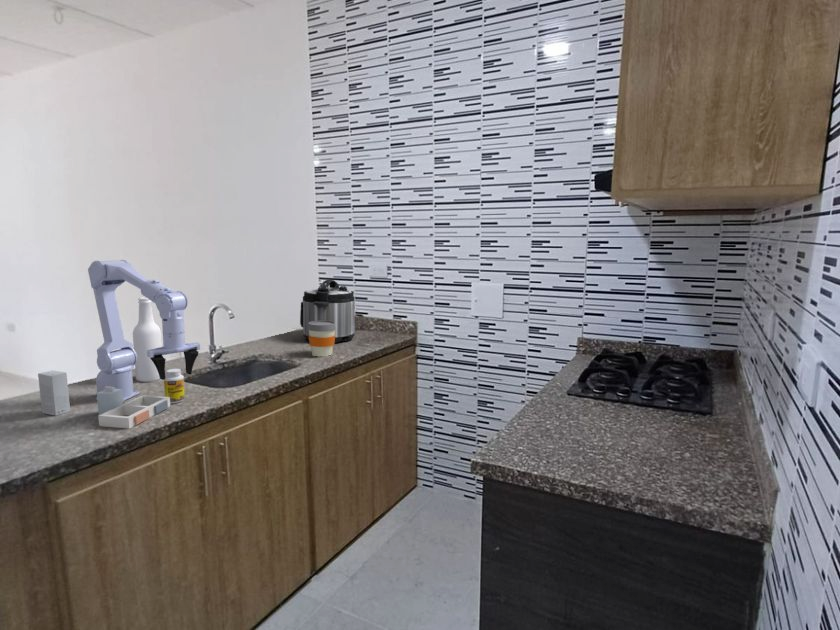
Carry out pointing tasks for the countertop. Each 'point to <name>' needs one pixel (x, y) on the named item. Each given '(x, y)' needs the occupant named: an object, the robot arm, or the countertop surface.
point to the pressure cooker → (329, 309)
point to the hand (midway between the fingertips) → (175, 376)
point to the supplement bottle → (174, 386)
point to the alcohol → (146, 342)
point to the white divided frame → (134, 411)
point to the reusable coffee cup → (321, 337)
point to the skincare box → (54, 392)
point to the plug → (109, 399)
